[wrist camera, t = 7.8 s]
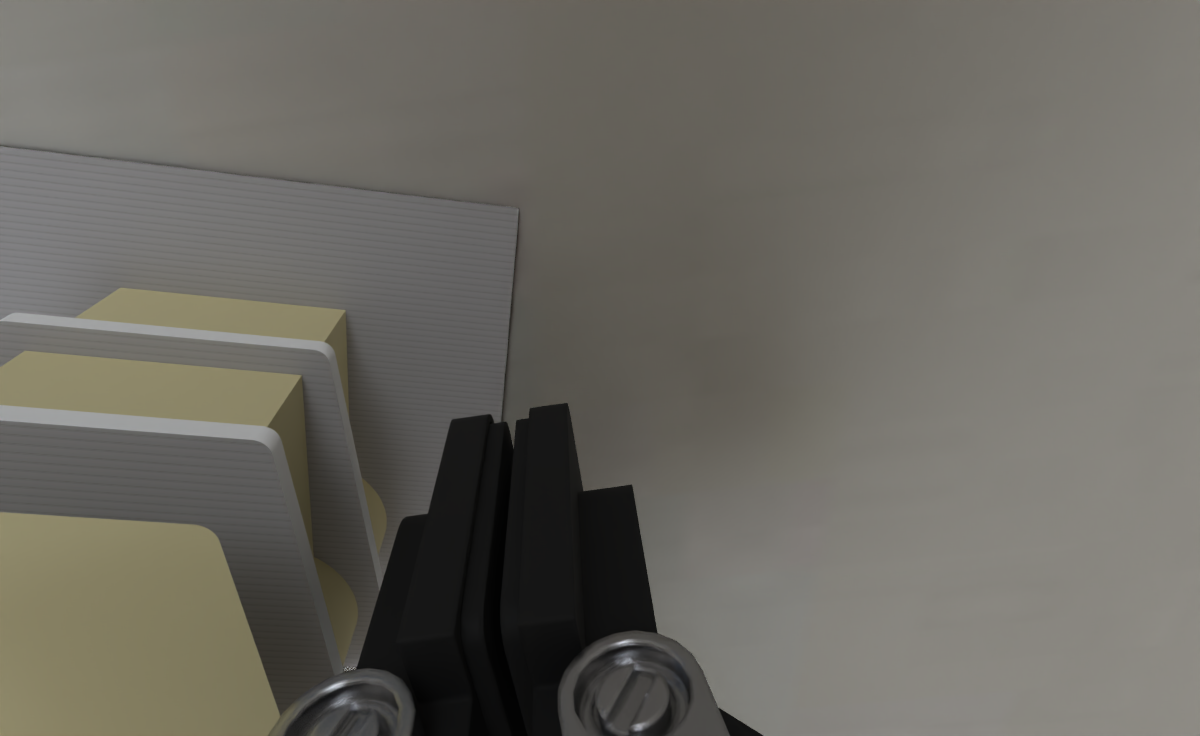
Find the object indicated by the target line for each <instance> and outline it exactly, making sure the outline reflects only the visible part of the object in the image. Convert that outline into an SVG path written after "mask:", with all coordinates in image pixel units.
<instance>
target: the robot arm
mask: <svg viewBox="0 0 1200 736" xmlns="http://www.w3.org/2000/svg"><path fill="white" fill-rule="evenodd" d="M268 736H763V735H762V734H760V733H758V732H757V731H755V730H753V729H752V728H750V727H749V726H747V725H745V724H744V723H742V722H741V721H739V720H737V719H736V718H734V717H733V716H731V715H729V714H728V713H726V712H724V711H723V710H721V709H720V708H718V706H717V704H716V701H715V699H714V696H713V694H712V692H711V689H710V687H709V685H708V682H707V680H706V677H705V675H704V673H703V670H702V669H701V667H700V666H699V664H698V663H697V661H696V659H695V658H694V656H693V655H692V653H690V652H689V651H688V650H687V649H685V648H684V647H683V646H682V645H680V644H679V643H678V642H677V641H675V640H673V639H670V638H668V637H665V636H663V635H660V634H658V633H657V628H656V622H655V616H654V610H653V604H652V598H651V593H650V587H649V581H648V575H647V569H646V563H645V557H644V552H643V546H642V540H641V534H640V528H639V522H638V516H637V511H636V505H635V499H634V493H633V487H632V485H626V486H619V487H612V488H605V489H597V490H590V491H583V486H582V480H581V475H580V469H579V463H578V457H577V451H576V445H575V440H574V434H573V428H572V422H571V416H570V411H569V406H568V403H563V404H556V405H549V406H542V407H535V408H530V411H529V418H528V419H521V420H517V421H516V429H515V440H514V449H513V444H512V440H511V435H510V431H509V427H508V424H507V422H500V423H494V420H493V417H492V415H491V414H486V415H479V416H472V417H465V418H458V419H452V420H451V423H450V426H449V430H448V434H447V438H446V442H445V446H444V450H443V454H442V458H441V462H440V466H439V470H438V474H437V478H436V482H435V486H434V490H433V494H432V499H431V503H430V507H429V511H428V514H421V515H414V516H407V517H405V518H404V519H402V521H401V523H400V525H399V528H398V531H397V534H396V538H395V541H394V544H393V548H392V551H391V554H390V558H389V561H388V564H387V568H386V571H385V574H384V578H383V581H382V585H381V588H380V591H379V595H378V598H377V601H376V605H375V608H374V611H373V615H372V618H371V621H370V625H369V628H368V631H367V635H366V638H365V641H364V645H363V648H362V651H361V655H360V658H359V662H358V665H357V668H356V670H351V671H346V672H343V673H341V674H338V675H335V676H333V677H330V678H328V679H325V680H323V681H322V682H320V683H319V684H317V685H315V686H314V687H312V688H311V689H309V690H308V691H306V692H304V693H303V694H302V695H301V696H300V697H299V698H298V699H297V700H296V701H295V702H293V703H292V704H291V705H290V706H289V707H288V708H287V709H286V710H285V711H284V712H283V714H282V715H281V717H280V718H279V719H278V721H277V722H276V724H275V725H274V727H273V728H272V729H271V731H270V732H269V734H268Z"/></svg>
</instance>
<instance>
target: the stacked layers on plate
mask: <svg viewBox="0 0 1200 736" xmlns="http://www.w3.org/2000/svg"><path fill="white" fill-rule="evenodd" d="M518 215H519V208H514V207H506V206H497V205H489V204H481V203H472V202H464V201H455V200H447V199H439V198H430V197H422V196H414V195H405V194H397V193H389V192H380V191H372V190H363V189H355V188H347V187H338V186H330V185H322V184H313V183H305V182H297V181H288V180H280V179H271V178H263V177H255V176H246V175H238V174H230V173H221V172H213V171H204V170H196V169H188V168H179V167H171V166H163V165H154V164H146V163H138V162H129V161H121V160H112V159H104V158H96V157H87V156H79V155H71V154H62V153H54V152H46V151H37V150H29V149H20V148H12V147H4V146H0V736H268V734H269V732H270V731H271V729H272V728H273V727H274V725H275V724H276V722H277V721H278V719H279V718H280V717H281V715H282V714H283V712H284V711H285V710H286V709H287V708H288V707H289V706H290V705H291V704H292V703H293V702H295V701H296V700H297V699H298V698H299V697H300V696H301V695H302V694H303V693H304V692H306V691H308V690H309V689H311V688H312V687H314V686H315V685H317V684H319V683H320V682H322V681H323V680H325V679H328V678H330V677H333V676H335V675H338V674H341V673H343V672H344V670H343V668H344V667H346V666H348V667H357V665H358V662H359V658H360V655H361V651H362V648H363V645H364V641H365V638H366V635H367V631H368V628H369V625H370V621H371V618H372V615H373V611H374V608H375V605H376V601H377V598H378V595H379V591H380V588H381V585H382V581H383V578H384V574H385V571H386V568H387V564H388V561H389V558H390V554H391V551H392V548H393V544H394V541H395V538H396V534H397V531H398V528H399V525H400V523H401V521H402V519H404V518H405V517H407V516H414V515H421V514H428V511H429V507H430V503H431V499H432V494H433V490H434V486H435V482H436V478H437V474H438V470H439V466H440V462H441V458H442V454H443V450H444V446H445V442H446V438H447V434H448V430H449V426H450V423H451V420H452V419H458V418H465V417H472V416H479V415H486V414H491V415H492V417H493V420H494V423H500V422H501V416H502V404H503V392H504V380H505V368H506V357H507V345H508V333H509V321H510V309H511V298H512V286H513V274H514V262H515V250H516V239H517V227H518Z"/></svg>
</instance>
